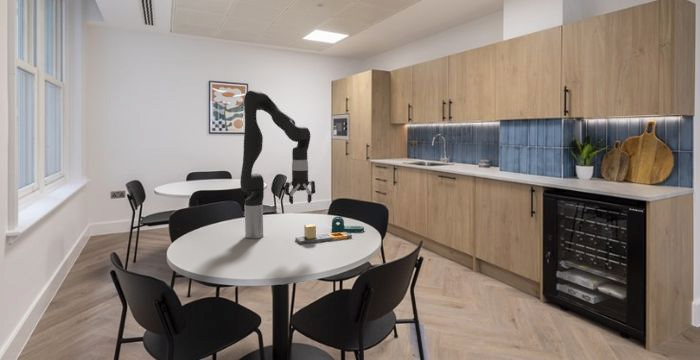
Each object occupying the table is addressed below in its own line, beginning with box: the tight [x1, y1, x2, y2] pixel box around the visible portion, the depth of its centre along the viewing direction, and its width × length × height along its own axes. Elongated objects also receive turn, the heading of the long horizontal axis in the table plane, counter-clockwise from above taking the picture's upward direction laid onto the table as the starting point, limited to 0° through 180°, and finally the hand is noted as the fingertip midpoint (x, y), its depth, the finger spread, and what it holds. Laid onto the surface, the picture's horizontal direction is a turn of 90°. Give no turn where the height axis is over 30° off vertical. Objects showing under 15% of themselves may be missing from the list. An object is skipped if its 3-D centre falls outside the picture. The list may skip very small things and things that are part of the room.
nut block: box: [303, 223, 317, 240], centre depth 198 cm, size 4×4×8 cm
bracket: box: [331, 215, 365, 233], centre depth 220 cm, size 18×7×8 cm, turn 91°
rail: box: [294, 232, 353, 245], centre depth 202 cm, size 8×28×2 cm, turn 116°
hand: (300, 203), depth 187 cm, fingers open, 8 cm apart
